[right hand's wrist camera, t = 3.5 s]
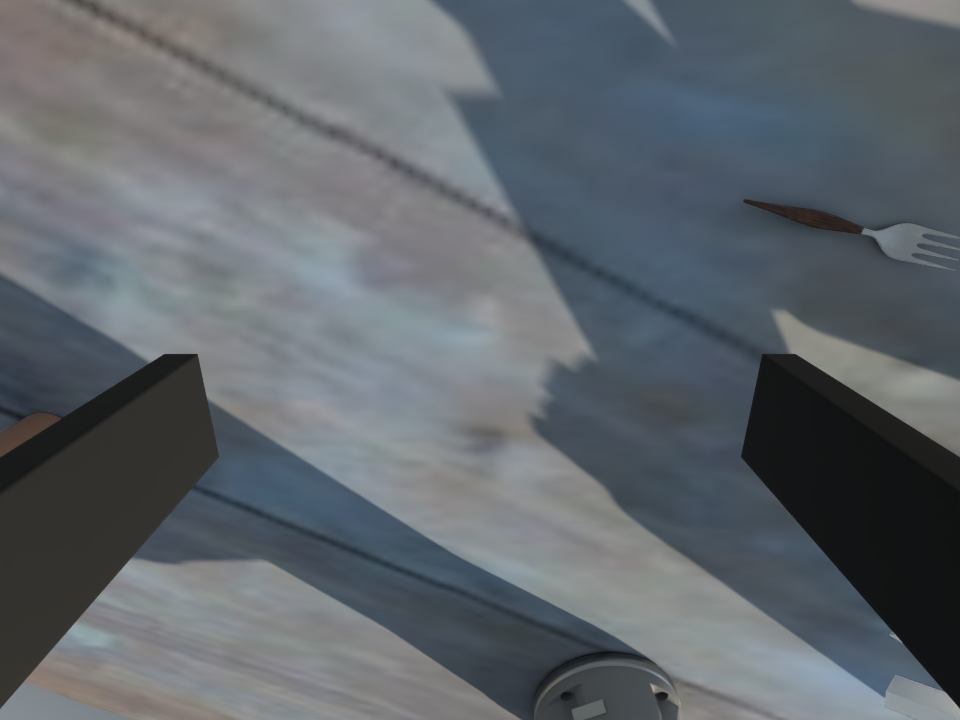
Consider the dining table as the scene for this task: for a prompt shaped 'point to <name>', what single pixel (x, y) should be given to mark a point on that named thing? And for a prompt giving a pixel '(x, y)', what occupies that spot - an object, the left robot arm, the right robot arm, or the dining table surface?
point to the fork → (870, 232)
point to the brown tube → (25, 430)
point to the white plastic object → (919, 699)
